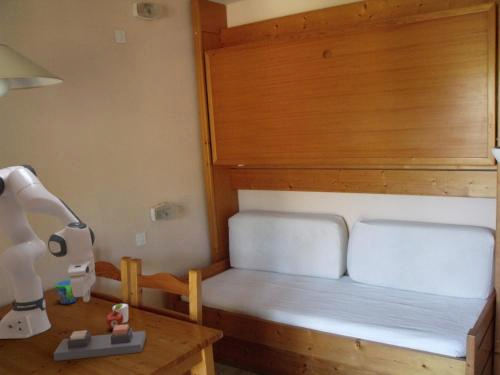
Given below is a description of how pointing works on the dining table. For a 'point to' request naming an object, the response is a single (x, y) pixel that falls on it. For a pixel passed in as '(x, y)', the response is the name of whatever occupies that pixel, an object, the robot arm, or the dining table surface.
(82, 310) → the dining table surface
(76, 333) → the key ivory
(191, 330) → the dining table surface
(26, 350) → the dining table surface
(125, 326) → the key brick
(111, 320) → the apple
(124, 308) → the white short cylinder
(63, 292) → the snack cup
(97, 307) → the dining table surface
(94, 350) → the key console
